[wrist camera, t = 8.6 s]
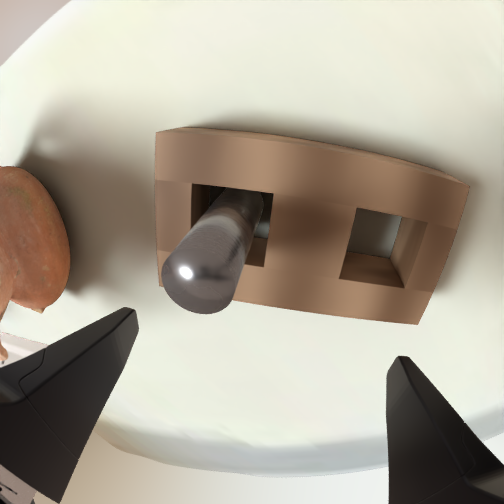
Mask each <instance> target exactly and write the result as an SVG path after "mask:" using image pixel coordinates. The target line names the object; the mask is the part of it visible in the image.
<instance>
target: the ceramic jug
mask: <svg viewBox="0 0 504 504" xmlns="http://www.w3.org/2000/svg"><path fill="white" fill-rule="evenodd" d="M69 272H70V247H69V241H68V236H67V233H66V229H65V226H64V223H63V220H62V217H61V215H60V213H59V210H58V208H57V206H56V204H55V203H54V201H53V199H52V197H51V196H50V194H49V193H48V191H47V190H46V188H45V187H44V186H43V185H42V184H41V182H40V181H39V180H38V179H37V178H36V177H34V176H33V175H32V174H30V173H29V172H28V171H26V170H24V169H21V168H18V167H14V166H6V167H1V166H0V321H1V319H2V317H3V315H4V313H5V310H6V308H7V305H8V303H9V300H11V301H13V302H15V303H17V304H19V305H21V306H23V307H26V308H31V309H32V310H34V311H36V312H39V313H43V311H44V309H45V308H46V307H47V306H49V305H51V304H53V303H54V302H55V301H56V300H57V299H58V298H59V297H60V296H61V294H62V292H63V290H64V288H65V286H66V284H67V281H68V277H69ZM7 359H8V353H7V350H6V349H5V348H4V347H3V346H2V344H1V341H0V361H3V360H7Z"/></svg>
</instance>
